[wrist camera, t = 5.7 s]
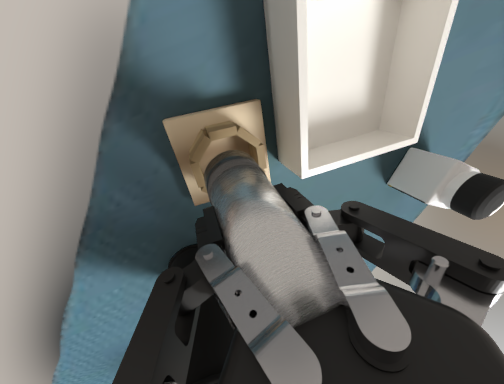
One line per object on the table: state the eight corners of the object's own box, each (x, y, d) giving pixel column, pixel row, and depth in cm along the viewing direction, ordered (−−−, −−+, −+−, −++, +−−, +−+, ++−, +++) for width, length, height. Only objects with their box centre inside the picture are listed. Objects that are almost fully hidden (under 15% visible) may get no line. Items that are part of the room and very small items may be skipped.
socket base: (266, 178, 27) (280, 193, 23) (194, 199, 25) (196, 220, 21) (255, 99, 22) (271, 102, 18) (163, 119, 20) (159, 127, 16)
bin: (376, 132, 29) (417, 142, 24) (278, 160, 26) (301, 178, 21) (402, -18, 21) (472, -49, 16) (263, -1, 18) (295, -33, 13)
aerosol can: (157, 275, 29) (128, 535, 12) (187, 235, 27) (201, 472, 11) (204, 286, 33) (230, 490, 17) (233, 252, 32) (294, 440, 15)
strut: (259, 147, 16) (443, 342, 5) (256, 193, 18) (374, 386, 8) (201, 152, 14) (290, 429, 4) (206, 202, 17) (269, 447, 7)
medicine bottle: (385, 184, 35) (466, 223, 25) (409, 146, 33) (509, 173, 23) (407, 190, 38) (487, 228, 28) (431, 156, 36) (528, 184, 26)
